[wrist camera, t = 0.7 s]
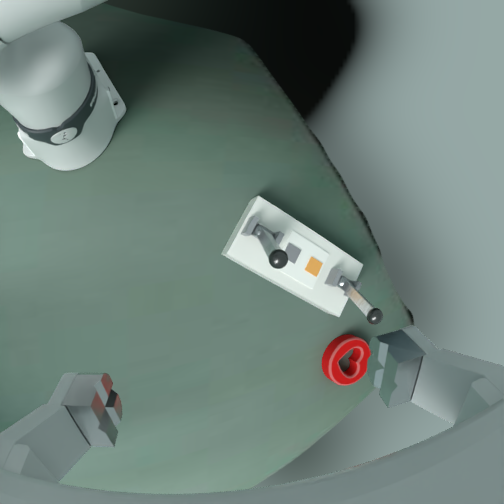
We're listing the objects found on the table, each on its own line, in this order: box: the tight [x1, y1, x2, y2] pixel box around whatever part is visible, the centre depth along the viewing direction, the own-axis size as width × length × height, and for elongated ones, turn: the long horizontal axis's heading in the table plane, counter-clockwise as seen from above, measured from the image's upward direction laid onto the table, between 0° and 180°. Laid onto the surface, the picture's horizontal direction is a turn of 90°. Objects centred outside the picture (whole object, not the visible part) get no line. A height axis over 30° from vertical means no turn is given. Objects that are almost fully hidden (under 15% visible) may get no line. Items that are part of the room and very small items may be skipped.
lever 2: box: [337, 275, 383, 324], centre depth 45 cm, size 3×2×13 cm
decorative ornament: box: [322, 334, 371, 385], centre depth 55 cm, size 10×10×3 cm
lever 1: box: [251, 223, 288, 269], centre depth 41 cm, size 3×2×13 cm
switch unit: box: [221, 196, 363, 317], centre depth 50 cm, size 22×10×6 cm, turn 61°
